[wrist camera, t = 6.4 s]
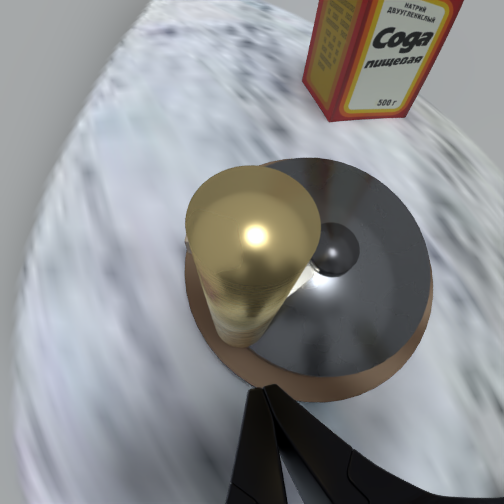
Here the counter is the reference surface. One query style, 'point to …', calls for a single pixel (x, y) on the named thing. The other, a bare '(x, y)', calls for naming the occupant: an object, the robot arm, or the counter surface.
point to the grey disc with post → (309, 264)
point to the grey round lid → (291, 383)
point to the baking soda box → (374, 54)
